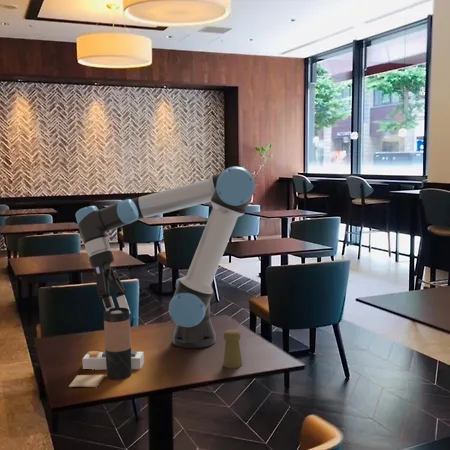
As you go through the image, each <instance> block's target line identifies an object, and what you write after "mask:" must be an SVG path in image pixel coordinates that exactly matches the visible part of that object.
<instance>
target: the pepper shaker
mask: <svg viewBox="0 0 450 450" xmlns="http://www.w3.org/2000/svg"><path fill="white" fill-rule="evenodd" d="M223 339H224V341H225V345H224V353H223V355H224V356H223V362H222V363H223V364H222V365H223V367H224V368H228V369H237V368H240V367H242V366H243V360H242V359H243V358H242V353H241V347H240V346H241V345H240V342H239V341H240V340H241V333H240V331H239V330H237V329H228V330H225V331H224V333H223Z"/></svg>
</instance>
